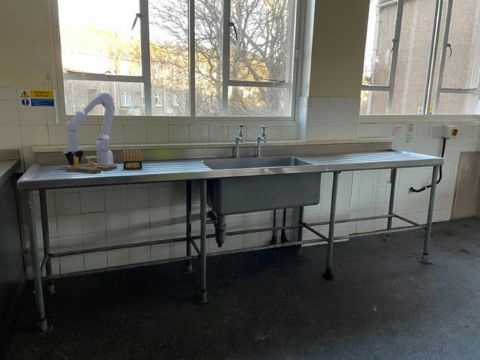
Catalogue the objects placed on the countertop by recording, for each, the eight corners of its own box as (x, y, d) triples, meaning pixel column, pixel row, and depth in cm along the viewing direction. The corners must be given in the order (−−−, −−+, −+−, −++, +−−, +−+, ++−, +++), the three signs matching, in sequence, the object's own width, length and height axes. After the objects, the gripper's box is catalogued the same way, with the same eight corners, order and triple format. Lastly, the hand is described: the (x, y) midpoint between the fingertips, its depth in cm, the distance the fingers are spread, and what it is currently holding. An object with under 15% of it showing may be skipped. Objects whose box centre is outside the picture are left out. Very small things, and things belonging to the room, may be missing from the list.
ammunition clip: (142, 168, 212) (141, 148, 210) (142, 169, 211) (141, 148, 208) (123, 169, 209) (122, 148, 207) (123, 169, 207) (122, 149, 205)
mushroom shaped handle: (90, 164, 212) (90, 155, 211) (99, 164, 210) (98, 156, 209) (83, 165, 206) (82, 157, 205) (91, 166, 204) (91, 157, 203)
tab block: (75, 166, 215) (74, 156, 214) (79, 166, 214) (78, 156, 213) (71, 167, 213) (70, 157, 211) (75, 167, 212) (74, 157, 210)
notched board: (89, 166, 216) (89, 163, 216) (116, 168, 210) (116, 165, 210) (66, 170, 200) (65, 167, 199) (95, 173, 193) (95, 170, 193)
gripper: (77, 140, 219) (78, 162, 221) (58, 142, 205) (60, 165, 208) (86, 140, 216) (87, 162, 219) (67, 142, 203) (69, 166, 206)
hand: (74, 164), depth 213 cm, fingers open, 5 cm apart
